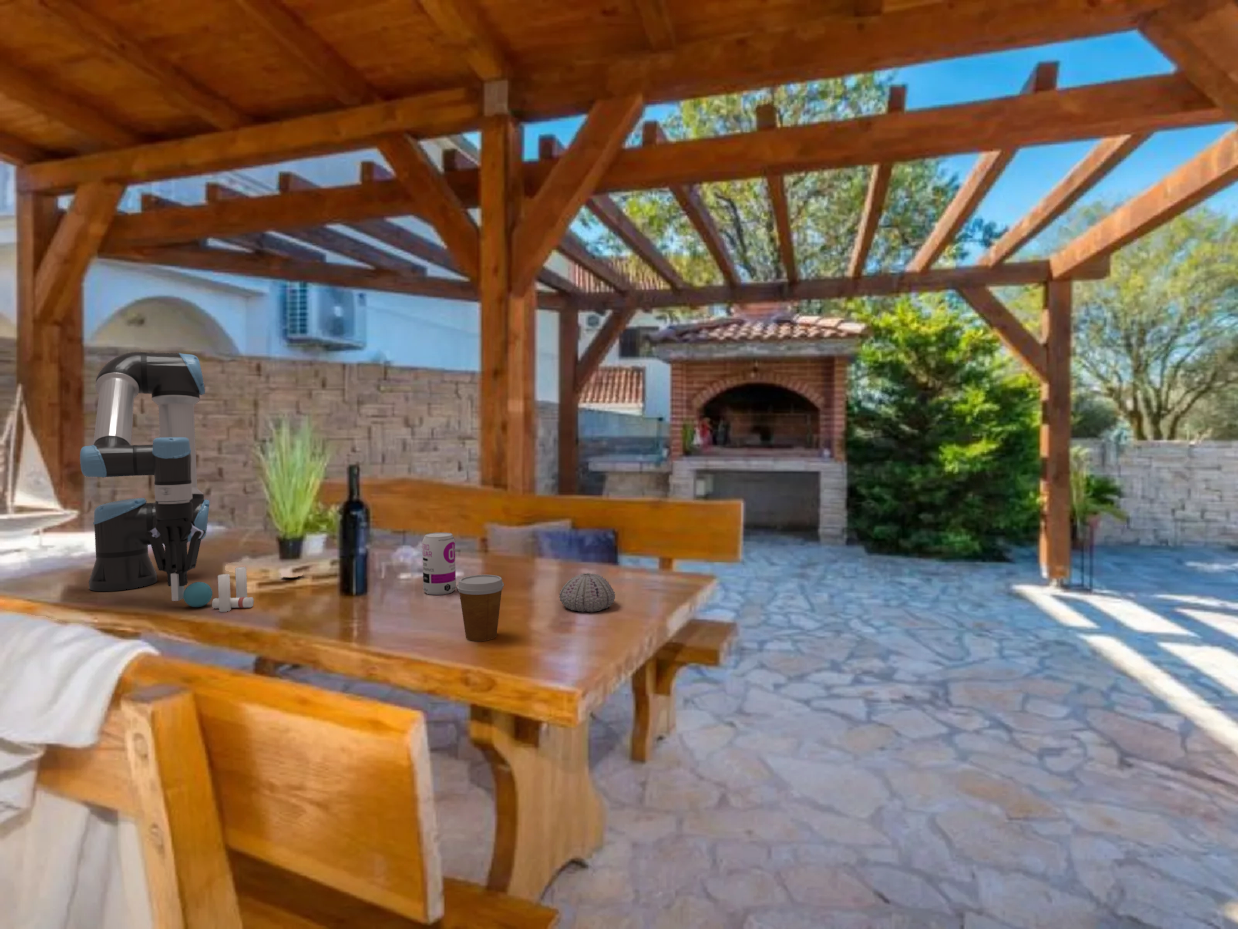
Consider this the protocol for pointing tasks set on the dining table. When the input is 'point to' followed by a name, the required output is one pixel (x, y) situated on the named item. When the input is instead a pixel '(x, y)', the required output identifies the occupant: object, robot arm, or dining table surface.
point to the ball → (197, 594)
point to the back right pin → (224, 592)
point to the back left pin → (241, 582)
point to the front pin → (236, 602)
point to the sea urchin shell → (587, 593)
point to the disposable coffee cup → (480, 605)
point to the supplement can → (439, 563)
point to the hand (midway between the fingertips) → (178, 599)
